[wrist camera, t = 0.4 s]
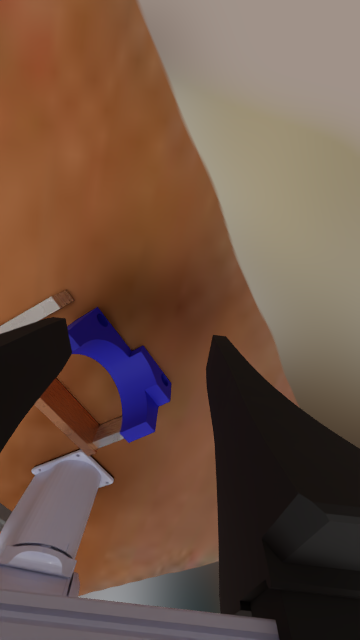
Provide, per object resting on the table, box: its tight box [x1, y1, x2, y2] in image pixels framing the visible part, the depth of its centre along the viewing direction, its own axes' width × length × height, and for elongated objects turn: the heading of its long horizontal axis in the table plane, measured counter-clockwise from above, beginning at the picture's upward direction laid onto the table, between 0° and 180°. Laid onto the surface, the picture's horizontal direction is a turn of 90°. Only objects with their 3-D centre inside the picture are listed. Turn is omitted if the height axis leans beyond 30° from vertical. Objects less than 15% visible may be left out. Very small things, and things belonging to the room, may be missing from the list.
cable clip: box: [67, 307, 171, 443], centre depth 19 cm, size 12×4×6 cm, turn 30°
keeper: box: [0, 290, 124, 456], centre depth 22 cm, size 9×18×3 cm, turn 28°
